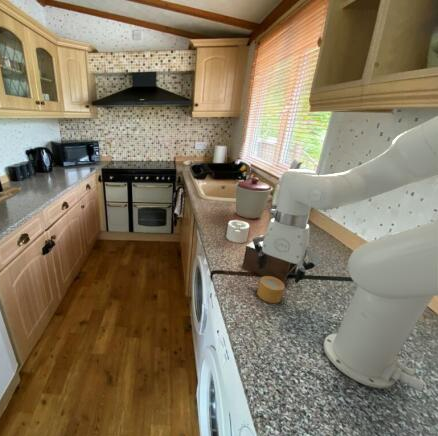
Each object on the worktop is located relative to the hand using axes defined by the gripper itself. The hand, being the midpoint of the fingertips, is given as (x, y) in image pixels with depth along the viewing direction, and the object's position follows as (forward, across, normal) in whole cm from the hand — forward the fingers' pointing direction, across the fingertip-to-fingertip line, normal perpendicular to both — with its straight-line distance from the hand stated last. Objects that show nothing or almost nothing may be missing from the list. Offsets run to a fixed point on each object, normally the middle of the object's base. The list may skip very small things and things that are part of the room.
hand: (278, 273), depth 69 cm
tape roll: (+9, -2, 0) cm, 9 cm away
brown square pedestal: (+8, -7, +14) cm, 18 cm away
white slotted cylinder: (+7, -29, +33) cm, 45 cm away
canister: (+7, -36, +58) cm, 69 cm away
